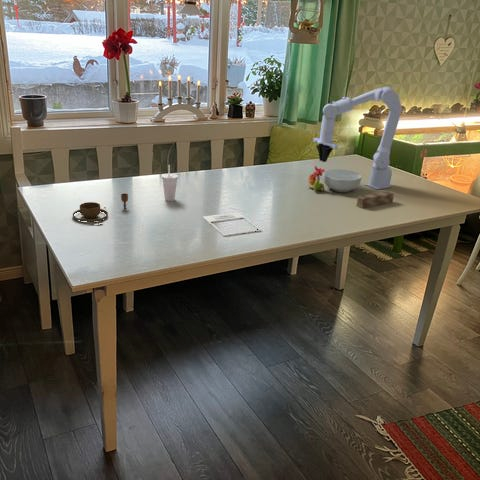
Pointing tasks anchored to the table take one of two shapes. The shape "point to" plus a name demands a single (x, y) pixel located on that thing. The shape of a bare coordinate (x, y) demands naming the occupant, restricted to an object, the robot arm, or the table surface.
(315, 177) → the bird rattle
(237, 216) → the photo frame
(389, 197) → the block
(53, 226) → the table surface
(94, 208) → the place setting
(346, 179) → the cereal bowl
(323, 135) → the robot arm
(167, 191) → the smoothie
